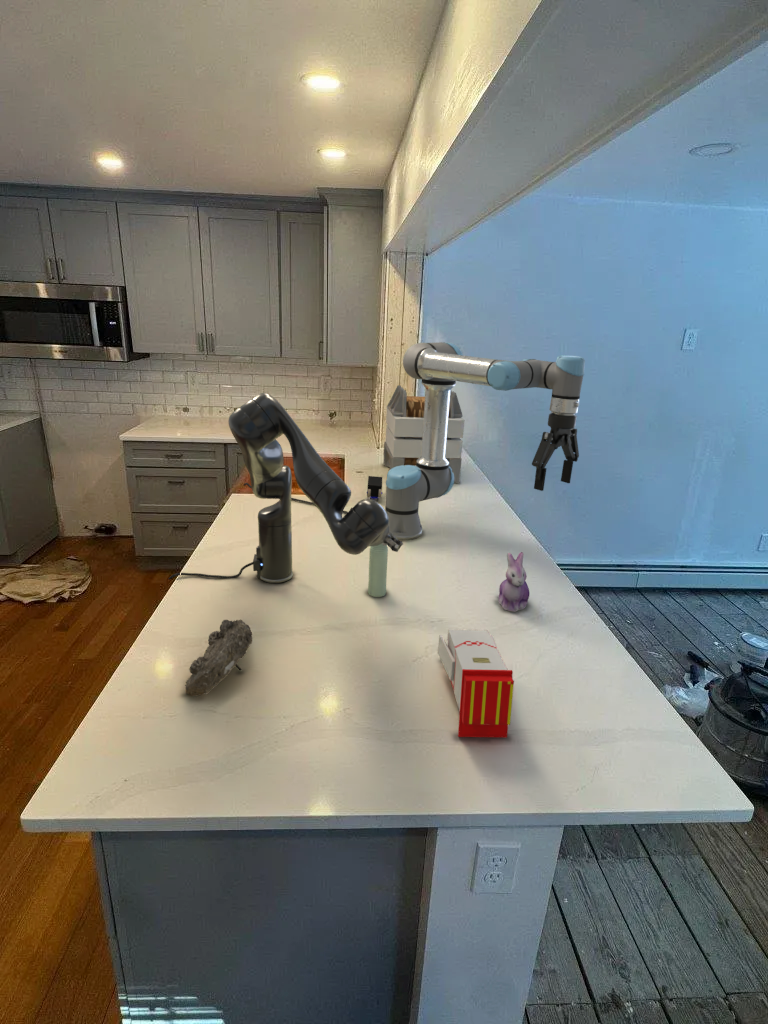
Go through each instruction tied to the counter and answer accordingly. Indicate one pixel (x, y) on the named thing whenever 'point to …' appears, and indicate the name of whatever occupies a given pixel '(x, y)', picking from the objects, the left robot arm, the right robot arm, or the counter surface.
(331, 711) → the counter surface
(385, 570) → the bottle
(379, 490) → the figurine character
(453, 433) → the white crate
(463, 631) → the toy
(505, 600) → the figurine
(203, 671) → the fossil
